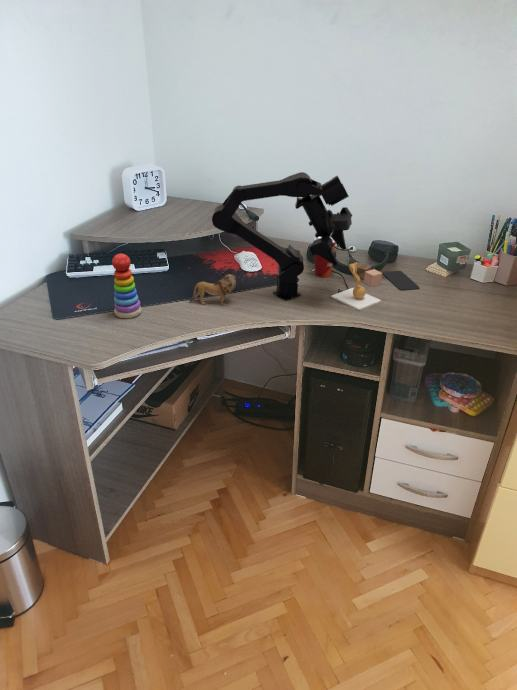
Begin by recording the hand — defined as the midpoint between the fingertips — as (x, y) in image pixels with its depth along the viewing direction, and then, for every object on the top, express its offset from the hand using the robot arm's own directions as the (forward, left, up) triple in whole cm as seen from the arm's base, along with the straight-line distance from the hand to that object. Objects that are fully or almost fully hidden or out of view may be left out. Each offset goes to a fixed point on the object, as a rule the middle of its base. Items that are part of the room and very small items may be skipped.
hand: (340, 257), depth 168 cm
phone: (+5, +26, -14) cm, 30 cm away
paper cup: (-15, +9, -13) cm, 22 cm away
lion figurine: (-20, -33, -13) cm, 41 cm away
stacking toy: (-29, -58, -13) cm, 67 cm away
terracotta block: (0, +17, -13) cm, 21 cm away
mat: (+6, +3, -13) cm, 15 cm away
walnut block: (-5, +18, -13) cm, 23 cm away
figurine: (+5, +3, -13) cm, 14 cm away
